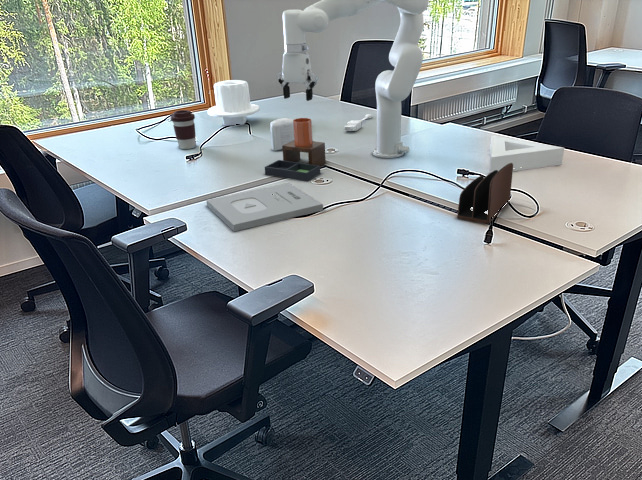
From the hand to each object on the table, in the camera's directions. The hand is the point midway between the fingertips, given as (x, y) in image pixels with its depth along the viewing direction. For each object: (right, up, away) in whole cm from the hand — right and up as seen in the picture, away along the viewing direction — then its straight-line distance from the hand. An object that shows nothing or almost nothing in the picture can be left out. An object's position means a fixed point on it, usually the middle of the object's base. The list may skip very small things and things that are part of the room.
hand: (298, 99), depth 214 cm
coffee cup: (-50, -8, +39) cm, 64 cm away
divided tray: (-2, -27, +3) cm, 27 cm away
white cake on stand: (-36, +13, +74) cm, 83 cm away
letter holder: (+60, -46, -33) cm, 83 cm away
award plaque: (-9, -44, -26) cm, 52 cm away
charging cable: (+25, +9, +63) cm, 68 cm away
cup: (+2, -14, +8) cm, 17 cm away
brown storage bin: (+2, -21, +12) cm, 25 cm away
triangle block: (+78, -24, +4) cm, 82 cm away
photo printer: (-8, -10, +33) cm, 35 cm away
